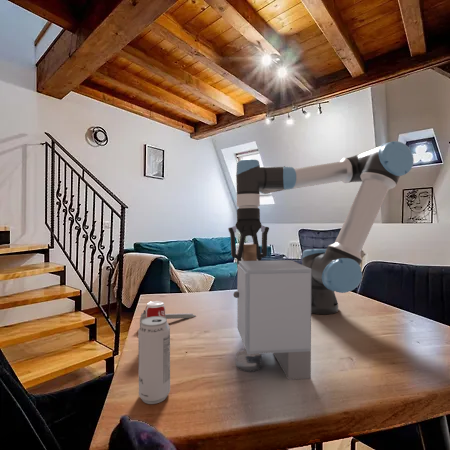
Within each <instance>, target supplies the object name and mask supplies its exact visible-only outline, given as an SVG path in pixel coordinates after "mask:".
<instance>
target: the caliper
mask: <svg viewBox="0 0 450 450" xmlns="http://www.w3.org/2000/svg"><path fill="white" fill-rule="evenodd" d="M193 317H194V318H195V317H197V315H196V314H193V313H190V312H189V313H188V312H187V313H183V312H182V313H165V318H166V319H167V320H173V319H174V320H176V319H191V318H193ZM145 318H146V313H145V309H143V312H141V314H140V318H139V327H140V326H141V324H142V320H143V319H145Z"/></svg>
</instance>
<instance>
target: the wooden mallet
mask: <svg viewBox="0 0 450 450" xmlns="http://www.w3.org/2000/svg"><path fill="white" fill-rule="evenodd" d="M241 259H243V260H244V261H257V257H256V244H253V242H252V243H249V242H248V243H244V245H243V252H242V258H241Z"/></svg>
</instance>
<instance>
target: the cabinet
mask: <svg viewBox="0 0 450 450" xmlns="http://www.w3.org/2000/svg"><path fill="white" fill-rule="evenodd" d="M236 280H237V281H236V282H237V284H236V285H237V288H236V289H237V290H236V291H234V292H233V297H234V298H235V299H237V301H236V302H237V307H236V309H237V311H236V312H237V313H236V314H237V319H236V321H237V323H236V324H237V326H236V328H237V331H238V333H239V336H240V339H241V342H242V344H243V347H244V350H246V352H247V354H260V355H261V354H273V355H274V357H275V358H276V360H277V362H278V364H279V366H280V367H281V369H282V371H283V373H284V374H285V376H286V378H287V379H288V380H289V381H290V380H309V379H311V378H312V377H311V376H312V374H311V373H312V372H311V371H312V365H311V364H312V347H311V346H312V313H311V269H310V268H308V267H306V266H304V265H302V263H300V262H296V261H294V260H290V259H289V260H288V259H287V260H285V259H284V260H283V259H282V260H278V259H277V260H276V259H275V260H261V261H239V264H238V268H237V279H236Z"/></svg>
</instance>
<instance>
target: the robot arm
mask: <svg viewBox="0 0 450 450" xmlns="http://www.w3.org/2000/svg"><path fill="white" fill-rule="evenodd" d="M413 166H414V155H413V153H412V150H411V149H410V147H409V146H408V145H407V144H405V143H403V142H402V141H395V140H393V141H389V142H384V143H382V144H381V145H379V146H376V147H373V148H370V149H368V150H365V151H363V152H360V153H359V154H356V155H352V156H350V157H343V158H342V159H341V160H339V161H336V162H330V163H322V164H317V165H316V164H315V165H309V166H302V167H295V168H294V167H292V166H286V165H284V166H262V165H260V162H259V160H258V159H255V158H254V159H253V158H245V159H240V160H238V162H237V163H236V175H235V176H236V177H235V180H236V183H235V184H236V207H237V209H236V223H235V225H233V226H231V227H228V228H227V230H228V232H229V235H230V251H231V253H230V254H231V255H230V256H231V257H232V258H233V259H236V267H237V269H238V264H239V261H244V260H243V259H242V252H243V245H244V244H245V240H246V238H247V237H248V236H250V237H251V239H252V243H253V244H256V258H257V261H262V258H266V257H267V255H268V254H267V253H268V233H269V230H270V227H269V226H265V225H262V223H261V209H260V208H259V207H260V205H261V202H260V199H261V198H260V194H262V195H266V194H267V195H268V194H271V193H278V192H281V191H287V190H294V189H295V190H296V189H301V188H307V187H313V186H319V185H324V184H325V185H326V184H332V183H339V182H342V183H344V184H348V183H357V182H358V183H361V185H360V186H359V189H358V191H357V193H356V196H355V197H354V199H353V201H352V204H351V206H350V208H349V210H348V213H347V215H346V217H345V219H344V221H343V223H342V226H341V227H340V231H339V232H338V235H337V236H336V239H335V241H334V243H331V244H328V246H327V248H322V249H320V248H318V249H314V248H313V249H305V250H303V251H302V257H301V265H304V266H306V267H308V268H310V269H311V314H317V315H331V314H335V313H337V312H339V302H338V299H337V297H336V293H340V294H346V293H350V292H351V291H354V290H355V289H356V288H357V287H358V286H359V285H360V284H361V282H362V277H363V271H362V268H361V264H362V261H363V258H362V256H361V251H362V249H363V247H364V245H365V242H366V241H367V238H368V237H369V234H370V232H371V230H372V227H373V225H374V223H375V220H376V218H377V217H378V214H379V212H380V210H381V207H382V205H383V203H384V201H385V198H386V197H387V195H388V192H389V190H392V189H394V188H396V186H397V185H398V182H399V179H400V177H402V176H405V175H406V174H408V173H410V172H411V170H412V168H413ZM237 231H238V232H239V234H240V236H239V237H240V238H239V242H238V243H239V244H238V249H236V235H235V234H236V232H237ZM259 231H260V232H262V233H261V249H260V244H259V240H258V233H259ZM236 251H237V252H236Z"/></svg>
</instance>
